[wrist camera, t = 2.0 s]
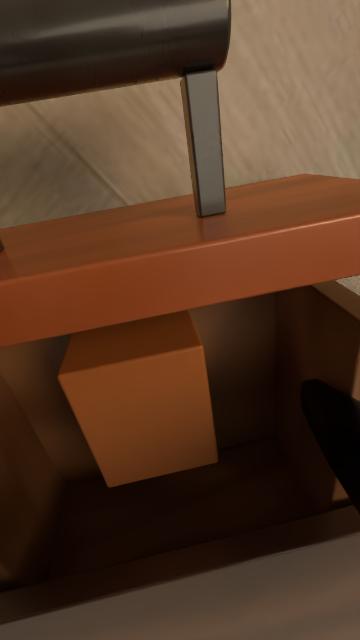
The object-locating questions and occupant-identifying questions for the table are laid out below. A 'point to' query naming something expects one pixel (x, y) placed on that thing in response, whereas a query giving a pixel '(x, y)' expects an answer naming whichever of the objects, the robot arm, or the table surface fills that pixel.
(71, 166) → the table surface
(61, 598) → the cabinet
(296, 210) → the drawer
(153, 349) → the orange cube block
